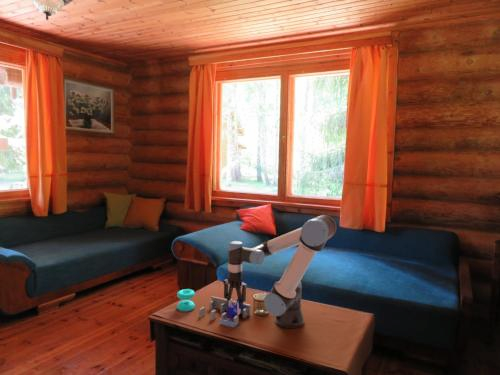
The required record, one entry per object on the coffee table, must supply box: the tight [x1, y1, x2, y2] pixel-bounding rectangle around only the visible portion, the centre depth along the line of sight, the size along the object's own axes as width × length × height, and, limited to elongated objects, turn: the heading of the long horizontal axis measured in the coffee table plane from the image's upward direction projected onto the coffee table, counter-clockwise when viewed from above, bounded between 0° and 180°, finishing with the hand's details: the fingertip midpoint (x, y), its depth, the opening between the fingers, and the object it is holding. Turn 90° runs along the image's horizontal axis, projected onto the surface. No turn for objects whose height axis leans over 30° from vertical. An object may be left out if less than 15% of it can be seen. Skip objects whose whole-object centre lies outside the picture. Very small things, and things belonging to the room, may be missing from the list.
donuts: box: [176, 288, 196, 312], centre depth 208 cm, size 10×10×10 cm
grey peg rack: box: [198, 295, 252, 328], centre depth 199 cm, size 25×16×6 cm, turn 64°
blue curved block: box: [226, 298, 244, 320], centre depth 196 cm, size 12×4×6 cm, turn 154°
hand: (234, 312), depth 196 cm, fingers closed on blue curved block, 4 cm apart
